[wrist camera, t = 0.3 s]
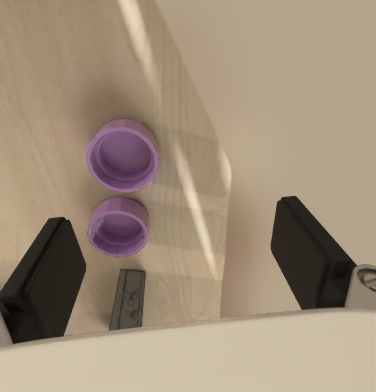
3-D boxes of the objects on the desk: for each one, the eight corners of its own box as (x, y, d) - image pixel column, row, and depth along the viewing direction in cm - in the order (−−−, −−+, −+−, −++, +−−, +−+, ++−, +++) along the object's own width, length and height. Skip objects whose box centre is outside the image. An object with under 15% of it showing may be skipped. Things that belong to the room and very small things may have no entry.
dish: (88, 197, 30) (80, 213, 27) (146, 193, 30) (144, 209, 27) (100, 241, 33) (94, 259, 30) (152, 237, 34) (151, 254, 31)
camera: (132, 334, 45) (125, 402, 36) (109, 332, 44) (97, 402, 36) (147, 270, 37) (142, 339, 28) (119, 267, 36) (106, 337, 28)
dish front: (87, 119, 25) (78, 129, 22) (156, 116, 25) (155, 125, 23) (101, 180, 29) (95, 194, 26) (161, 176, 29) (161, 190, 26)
